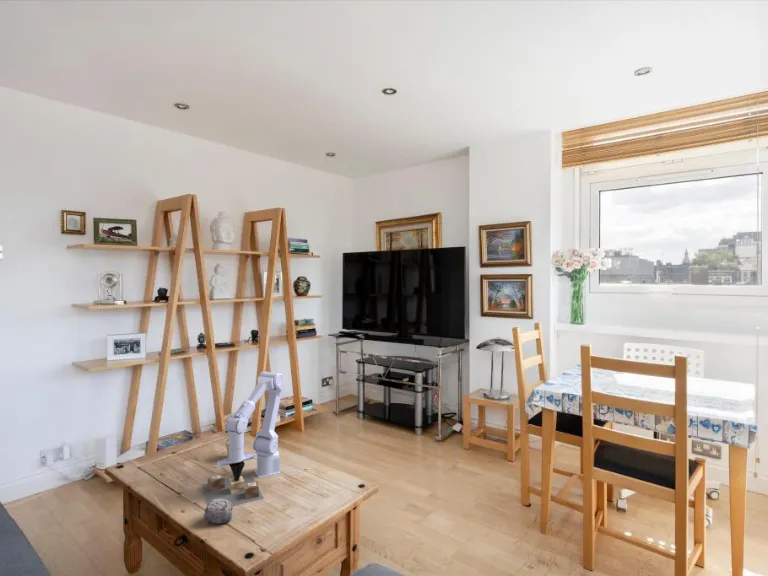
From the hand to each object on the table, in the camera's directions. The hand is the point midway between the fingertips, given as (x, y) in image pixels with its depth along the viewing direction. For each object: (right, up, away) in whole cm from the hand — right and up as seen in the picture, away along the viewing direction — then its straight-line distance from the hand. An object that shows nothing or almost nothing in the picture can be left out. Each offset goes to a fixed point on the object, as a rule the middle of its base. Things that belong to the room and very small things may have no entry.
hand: (236, 480), depth 170 cm
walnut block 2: (+7, -4, -4) cm, 9 cm away
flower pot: (-12, -4, +31) cm, 34 cm away
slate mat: (-2, -4, -1) cm, 5 cm away
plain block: (0, -4, 0) cm, 4 cm away
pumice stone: (+2, -5, -21) cm, 21 cm away
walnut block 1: (-9, -4, +2) cm, 10 cm away
